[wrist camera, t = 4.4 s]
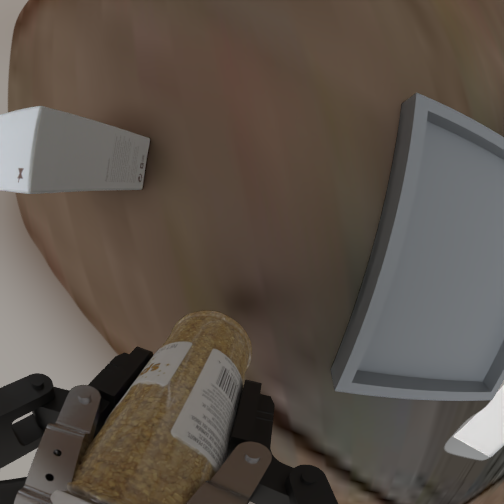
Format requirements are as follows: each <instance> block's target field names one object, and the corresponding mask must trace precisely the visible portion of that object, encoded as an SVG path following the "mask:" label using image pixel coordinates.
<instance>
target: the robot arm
mask: <svg viewBox="0 0 504 504" xmlns="http://www.w3.org/2000/svg"><path fill="white" fill-rule="evenodd" d="M152 357H153V353H152V352H151V351H148V350H146V349H143V348H140V347H136V348H135V349H134V350H133V351H132V352H131V353H130V354H127V353H123V354H120V355H118V356H116V357H115V358H114V359H113V360H112V361H111V362H110V364H108V365H107V366H106V367H105V369H103V370H102V371H101V372H100V373H99V374H98V375H97V376H96V377H95V378H94V379H93V380H92V382H90V384H89V385H79V386H75V387H74V388H72V389H71V390H70V391H68V390H64V389H60V388H56V387H53V383H52V380H51V379H50V378H49V377H48V376H46V375H44V374H32V375H29V376H27V377H24V378H22V379H20V380H18V381H15V382H13V383H11V384H8V385H6V386H4V387H2V388H0V468H2V467H4V466H6V465H7V464H9V463H11V462H13V461H15V460H16V459H18V458H20V457H22V456H24V455H26V454H27V453H29V452H31V451H33V450H34V449H36V448H38V449H37V452H36V454H35V457H34V459H33V462H32V465H31V468H30V471H29V473H28V476H27V477H23V478H17V479H11V480H3V481H0V504H53V503H52V501H51V499H50V497H51V495H52V493H53V492H54V491H56V490H59V491H67V484H68V483H70V482H72V481H73V480H74V478H75V474H76V471H77V469H78V467H79V465H80V464H81V460H82V457H83V456H84V454H85V452H86V450H87V448H88V446H89V445H90V444H91V442H92V441H93V440H94V438H95V437H96V436H97V434H98V433H99V431H100V430H101V429H102V427H103V426H104V424H105V422H106V420H107V418H108V416H109V415H110V413H111V412H112V411H113V409H114V408H115V407H116V405H117V404H118V403H119V401H120V400H121V399H122V397H123V396H124V395H125V393H126V392H127V391H128V389H129V388H130V386H131V385H132V384H133V382H134V381H135V380H136V378H137V377H138V376H139V374H140V373H141V372H142V370H143V369H144V367H145V366H146V365H147V363H148V362H149V361H150V359H151V358H152ZM260 390H261V383H258V382H254V381H250V380H245V384H244V387H243V391H242V395H241V399H240V403H239V407H238V411H237V415H236V419H235V423H234V427H233V431H232V435H231V439H230V443H229V447H228V453H227V458H226V461H225V462H224V464H223V465H222V466H221V467H220V469H219V470H218V471H217V472H216V474H215V475H214V476H213V477H212V479H211V480H209V481H208V480H207V481H206V482H204V483H203V484H202V486H201V487H200V488H199V489H198V490H197V491H196V493H195V494H194V495H193V496H192V497H191V498H190V500H189V501H188V502H187V503H186V504H248V503H249V502H250V501H251V502H253V503H255V504H338V502H337V500H336V498H335V496H334V494H333V491H332V489H331V487H330V485H329V482H328V480H327V478H326V476H325V474H324V473H323V471H321V470H320V469H319V468H317V467H315V466H312V465H300V466H297V467H295V468H292V467H290V466H288V465H285V464H283V463H281V462H279V461H278V460H277V459H276V458H275V457H274V456H273V455H272V453H271V450H270V444H271V435H272V425H273V414H274V403H273V401H272V399H271V396H266V395H262V394H260ZM31 411H32V412H33V414H32V415H30V416H28V417H26V418H24V419H22V420H20V421H18V422H16V423H14V424H12V422H13V421H14V420H16V419H17V418H19V417H21V416H23V415H25V414H27V413H29V412H31Z"/></svg>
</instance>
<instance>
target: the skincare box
mask: <svg viewBox="0 0 504 504" xmlns="http://www.w3.org/2000/svg"><path fill="white" fill-rule="evenodd" d="M149 144H150V139H149V138H147V137H144V136H141V135H138V134H136V133H132V132H129V131H126V130H123V129H120V128H117V127H114V126H111V125H108V124H104V123H101V122H98V121H94V120H91V119H88V118H84V117H81V116H77V115H73V114H70V113H67V112H63V111H59V110H55V109H51V108H47V107H44V106H37V107H31V108H25V109H20V110H16V111H12V112H8V113H5V114H1V115H0V191H10V192H17V193H26V194H38V193H57V192H72V191H97V190H141V189H142V188H143V181H144V174H145V167H146V161H147V155H148V149H149Z"/></svg>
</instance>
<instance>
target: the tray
mask: <svg viewBox="0 0 504 504" xmlns="http://www.w3.org/2000/svg"><path fill="white" fill-rule="evenodd" d="M331 374H332V379H333V384H334V390H335V391H339V392H346V393H353V394H361V395H370V396H379V397H390V398H402V399H418V400H444V401H476V400H492V399H493V397H494V396H495V394H496V392H497V391H498V389H499V387H500V385H501V384H502V382H503V380H504V137H502V136H500V135H499V134H497V133H496V132H494V131H492V130H491V129H489V128H487V127H485V126H484V125H482V124H480V123H478V122H477V121H475V120H473V119H471V118H469V117H467V116H465V115H464V114H462V113H460V112H458V111H456V110H454V109H452V108H450V107H448V106H445V105H443V104H441V103H439V102H437V101H435V100H432V99H430V98H428V97H426V96H423V95H421V94H418V93H415V94H414V95H413V96H411V97H410V98H409V99H407V100H406V101H405V102H403V103H402V105H401V113H400V120H399V127H398V134H397V140H396V146H395V152H394V157H393V163H392V168H391V173H390V178H389V183H388V188H387V192H386V197H385V201H384V206H383V210H382V214H381V218H380V222H379V226H378V230H377V234H376V237H375V241H374V245H373V248H372V252H371V256H370V259H369V262H368V266H367V269H366V272H365V276H364V279H363V282H362V285H361V288H360V292H359V295H358V298H357V301H356V304H355V307H354V309H353V312H352V315H351V318H350V321H349V324H348V326H347V329H346V332H345V335H344V337H343V340H342V343H341V345H340V348H339V350H338V353H337V355H336V358H335V360H334V363H333V365H332V368H331Z"/></svg>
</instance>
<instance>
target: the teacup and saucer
mask: <svg viewBox="0 0 504 504" xmlns="http://www.w3.org/2000/svg"><path fill="white" fill-rule="evenodd" d="M453 437H454V438H456V439H458V440H460V441H462V442H463V443H465V444H467V445H469V446H470V447H472V448H474V449H476V450H477V451H479V452H481V453H483V454H485V455H487V456H488V457H492V456H493V455H494V454H495V453H496V452H497V451H498V450H500V449H501V448H502V447H503V446H504V385H503V386H502V387H501V388H500V390H499V391H498V392H497V393H496V394H495V396H494V397H493V399H492V400H491V401H490V403H489V404H488V405H487V406H486V407H485V408H484V409H483V410H481V411H480V412H478V413H477V414H476V415H475V416H474V417H473V418H472V419H471V420H470V421H469V422H468V423H467V424H466V425H465V426H464V427H463V428H461V430H459V431H458V432H457V433H456V434H455V435H454V436H453Z"/></svg>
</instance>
